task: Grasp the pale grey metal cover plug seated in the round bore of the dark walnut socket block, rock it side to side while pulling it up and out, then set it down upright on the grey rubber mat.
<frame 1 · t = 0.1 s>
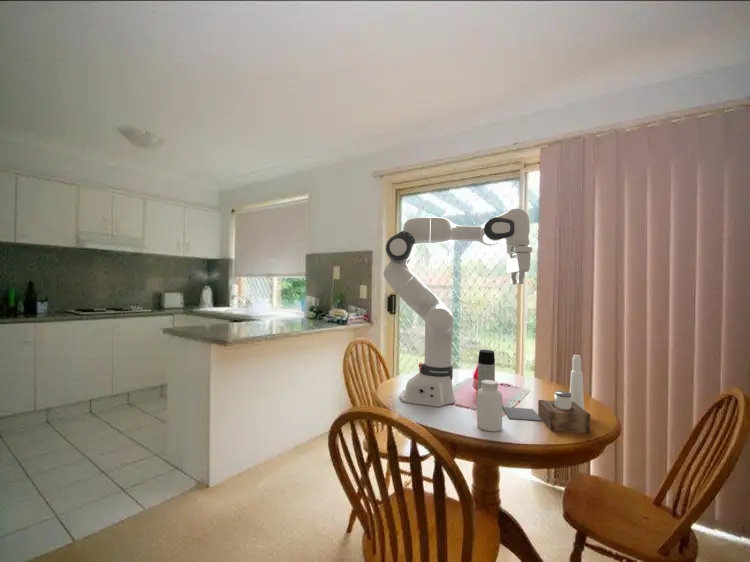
hand: (517, 284, 136), 48 cm above the table, fingers open, 8 cm apart
socket block: (562, 424, 116), on the table
mat: (521, 414, 124), on the table
spray can: (485, 399, 141), on the table
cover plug: (562, 408, 116), in the socket block
cosmetic bottle: (576, 415, 124), on the table
pill bottle: (489, 427, 112), on the table
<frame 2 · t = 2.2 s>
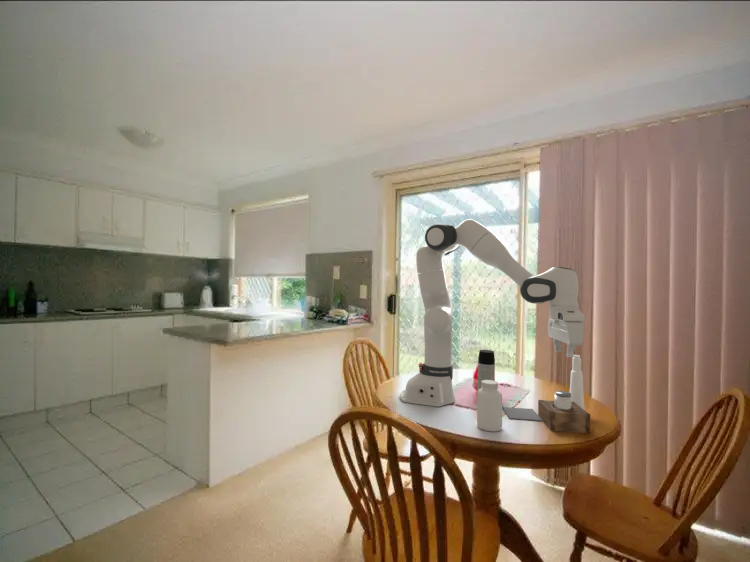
hand: (563, 354, 116), 24 cm above the table, fingers open, 8 cm apart
nothing on the table moved.
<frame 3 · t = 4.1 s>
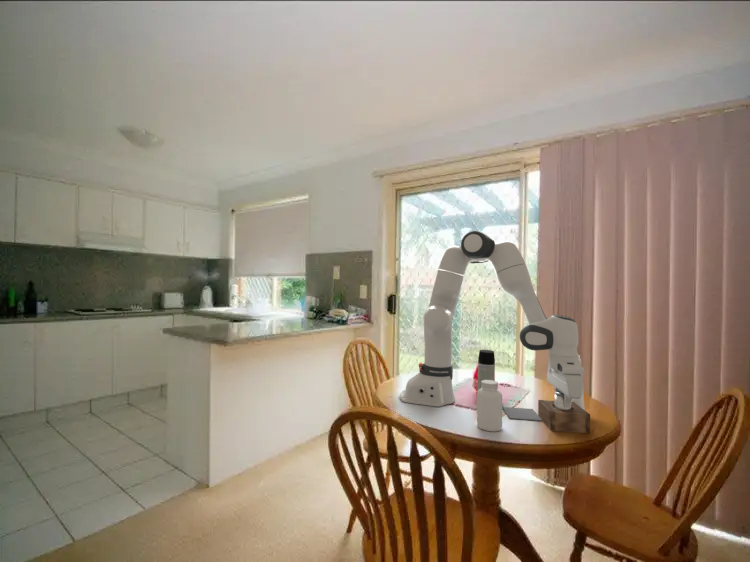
hand: (562, 403, 116), 7 cm above the table, fingers closed on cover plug, 5 cm apart
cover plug: (562, 408, 116), in the socket block, touching gripper
everything else where it was.
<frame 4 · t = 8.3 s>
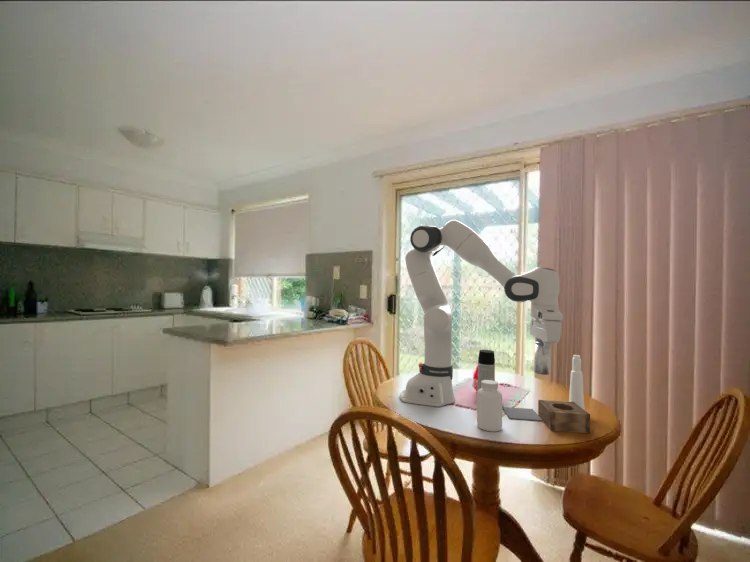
hand: (542, 351, 120), 24 cm above the table, fingers closed on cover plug, 5 cm apart
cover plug: (542, 357, 120), point 22 cm above the table, touching gripper
everything else where it was.
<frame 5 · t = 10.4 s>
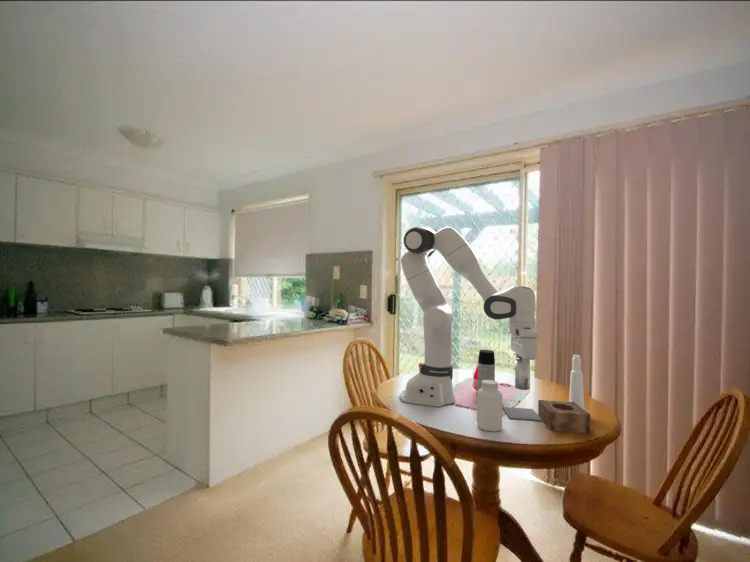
hand: (522, 367, 125), 17 cm above the table, fingers closed on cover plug, 5 cm apart
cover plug: (522, 373, 125), point 15 cm above the table, touching gripper
everything else where it was.
when the fingers open (9 cm above the table, at t = 12.4 s): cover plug stays where it is, resting on mat.
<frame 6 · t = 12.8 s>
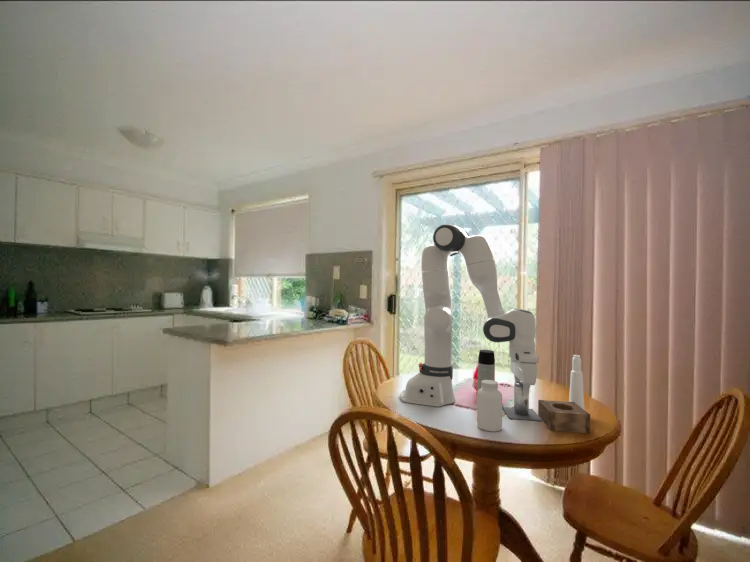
hand: (521, 390, 124), 9 cm above the table, fingers open, 8 cm apart
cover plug: (521, 398, 124), on the mat
everything else where it was.
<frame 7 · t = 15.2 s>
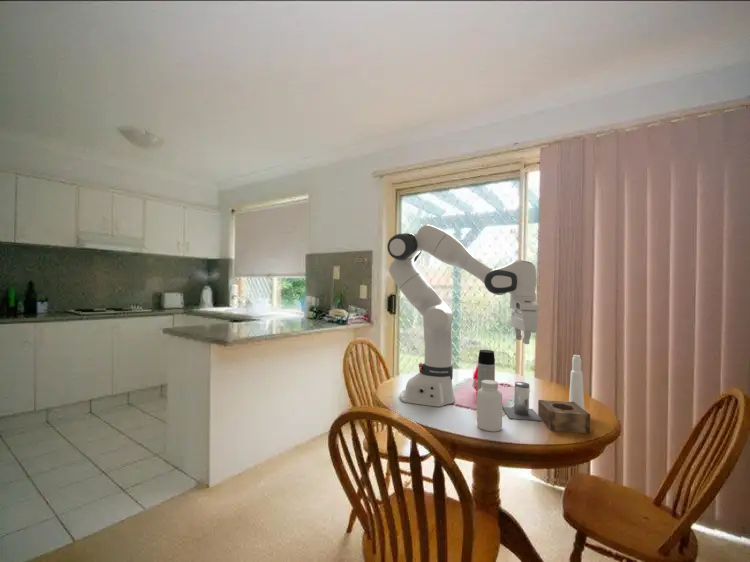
hand: (522, 341, 125), 27 cm above the table, fingers open, 8 cm apart
nothing on the table moved.
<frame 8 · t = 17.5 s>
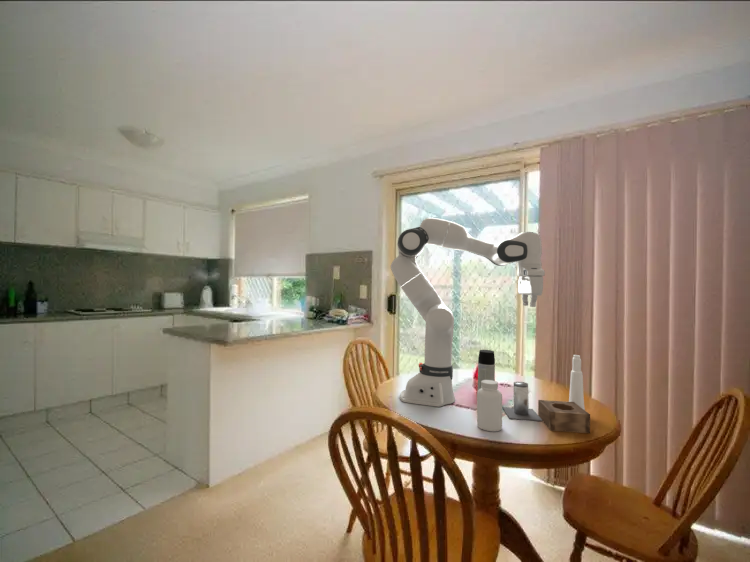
hand: (529, 306, 137), 39 cm above the table, fingers open, 8 cm apart
nothing on the table moved.
at the end: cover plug inside the target area on the mat (0.1 cm from its centre), point 5.9 cm above the mat's base; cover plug tilted 2°; the gripper is holding nothing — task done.
